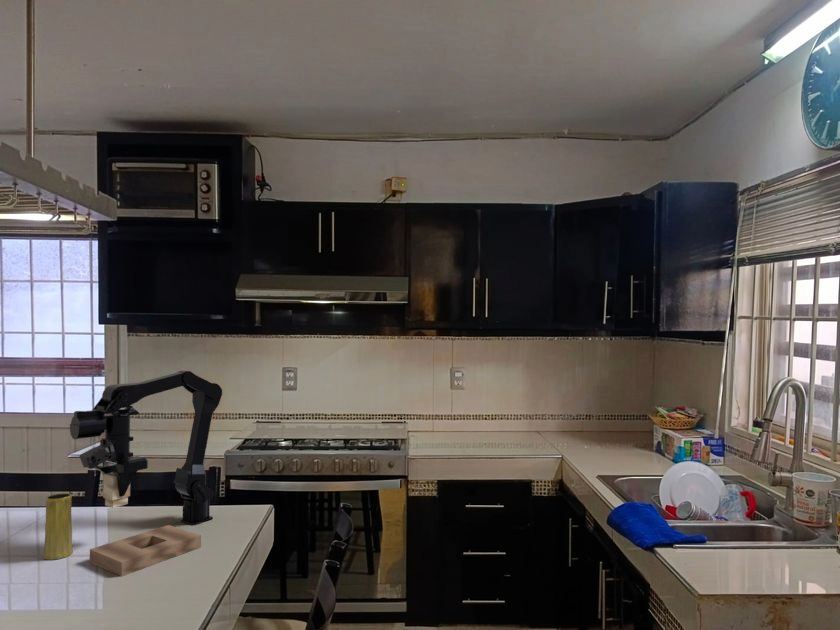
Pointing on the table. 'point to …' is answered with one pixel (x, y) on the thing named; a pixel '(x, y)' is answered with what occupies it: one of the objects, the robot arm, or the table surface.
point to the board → (144, 549)
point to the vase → (58, 527)
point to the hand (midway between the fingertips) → (116, 494)
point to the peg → (113, 491)
